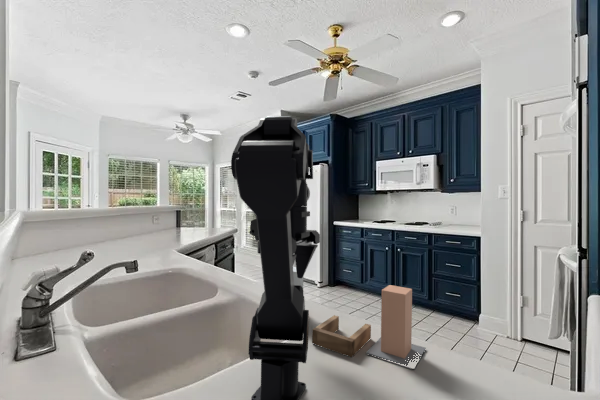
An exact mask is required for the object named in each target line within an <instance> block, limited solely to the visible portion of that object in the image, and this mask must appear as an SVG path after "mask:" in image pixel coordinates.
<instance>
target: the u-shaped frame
mask: <svg viewBox="0 0 600 400" xmlns="http://www.w3.org/2000/svg"><path fill="white" fill-rule="evenodd" d="M339 325H340V316H338V315H335V314H334V315H332V316H331V317H329V318H327V319H326V320H325V321H323V322H321V323H320V324H319V325H317V326H316V327H315V326H314V328H312V330H311V332H312V333H311V334H312V336H311V337H312V339H311V344H312V343H314V344H316V345H315V346H317V345H319V346H318V347H320V346H322V347H321V348H323V347H324V349H326V348H327V349H326V350H329V349H330V350H329V351H332V350H333V351H332V352H336V353H338V354H341V355H343V354H344V356H346V355H348V356H347V357H349V356H350V358H353V357H354V356H355V355H356V354H357V353H358V352H359V351H360V350H361V349H362V348H363V347H364V346H365V345H366V344H367V343H368V342H369V341H370V340H371V339H372V325H371V324H369V323H365V324H363V325H362V326H361V327H360V328H359V329H357V330H356V331H355V332H354V333H353V334H351V336H349V337H348V336H347V335H341V334H340V333H339V334H338V333H336V332H337V331H339V330H338V329H339V328H340V327H339ZM336 330H337V331H336ZM335 331H336V332H335ZM370 338H371V339H370ZM369 339H370V340H369ZM368 340H369V341H368ZM367 341H368V342H367ZM366 342H367V343H366ZM365 343H366V344H365ZM314 344H313V345H314ZM364 344H365V345H364ZM363 345H364V346H363ZM362 346H363V347H362ZM361 347H362V348H361ZM359 349H360V350H359ZM352 356H353V357H352Z"/></svg>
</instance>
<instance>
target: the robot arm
mask: <svg viewBox="0 0 600 400" xmlns="http://www.w3.org/2000/svg"><path fill="white" fill-rule="evenodd" d="M313 153H314V152H313V149H310V145H309V144H308V143H307V137H306V134H304V132H302V131H301V130H300V129H299V128H298V120H297V117H293V116H292V115H282V116H281V115H274V116H273V115H272V116H265V117H262V118H260V119H259V122H258V125H256V126H255V127H253V128H252V129H250V130H249V131H247V132H245V133H244V134H242V135H240V137H239V138H238V141H237V142H236V145H235V147H234V149H233V151H232V154H231V161H230V166H231V167H230V169H231V175H232V176H233V179H234V180H236V184H237V187H238V193H239V198H240V199H241V200H242V201H243V202H244V204H245V205H246V207H248V208H249V209H250V210H251V212H252V213H253V214H254V215H255V219H252V220H250V224H249V225H250V227H249V232H248V233H249V235H251V236H253V237H254V239H255V240H254V241H256V242H257V254H259V255H260V263H261V272H262V280H263V288H264V290H263V293H262V295H261V298H260V302H259V305H258V307H257V308H256V310H255V314H254V315H253V316H252V318H251V325H250V331H249V332H250V333H249V337H248V338H249V339H248V355H249V360H250V361H251V360H252V361H254V360H260V386H259V387H258V388H257V389H256V391H255V392H254V393H253V394H252V396H251V400H300V398H301V396H302V395H303V393H304V392H305V389H306V387H307V384H306V383H305V382H303V381H300V380H299V363H302V364H306V363H307V359H308V352H309V351H308V350H309V327H310V326H309V325H310V324H309V322H310V318H309V317H310V311H309V309H306V305H305V304H306V303H305V302H306V301H305V300H306V299H305V294H304V287H303V288H302V287H301V286H299V285H294V277H293V267H294V264H295V267H296V271H297V277H298V278H303V279H304V275H305V273H306V271H307V269H308V267H309V264H310V262H311V260H312V258H313V256H314V254H315V252H316V249H317V248H318V246H319V245H318V244H320V242H321V234H320V233H319V232H318V230H315V229H308V226H307V225H308V224H307V222H308V218H309V217H311V210H310V211H308V201H309V199H310V197H311V191H310V187H309V186H308V183H307V180H314V163H313V162H314V158H313V157H314V154H313ZM261 340H262V341H261ZM263 340H271V341H263ZM272 340H275V341H276V342H275V341H272ZM277 341H279V342H277ZM280 341H290V342H280ZM291 341H292V342H291ZM293 342H294V343H293ZM295 342H302V343H295Z"/></svg>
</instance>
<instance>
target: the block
mask: <svg viewBox="0 0 600 400" xmlns="http://www.w3.org/2000/svg"><path fill="white" fill-rule="evenodd" d="M380 305H381V307H380V308H381V309H380V311H381V313H380V314H381V316H380V321H381V323H380V337H381V351H382V352H385V353H388V354H392V355H395V356H398V357H401V358H404V359H405V357H406V356H407V354H408V353H409V352H410V350H411V344H412V337H413V335H412V330H413V329H412V328H413V327H412V325H413V323H412V321H413V319H412V318H413V288H409V287H403V286H399V285H398V286H397V285H394V284H393V285H391V284H389V285H386V286H385V287H384V288H382V289H381V304H380Z"/></svg>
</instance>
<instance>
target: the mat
mask: <svg viewBox="0 0 600 400" xmlns="http://www.w3.org/2000/svg"><path fill="white" fill-rule="evenodd" d="M425 349H426V350H427V347H424V346H421V345H418V344H414V343H411V350H410V352H409V353H408V354H407V356H406V357H405V359H404V358H401V357H398V356H395V355H392V354H388V353H385V352H382V351H381V336H380V338H378V339H377V341H376V342H374V343H373V345H372V346H370V348H369V349H368V350H367V351H366V352H365V353H366V354H369V355H373V356H376V357H379V358H383V359H386V360H390V361H393V362H396V363H400V364H404V365H405V364H406V366H407V365H408V363H409V361H410V360H411V359H412V360H413V359H415V358H416V357H418V356H419V355H418V353H419V354H420V355H422V354H423V352H424V351H425V352H426V350H425ZM417 352H418V353H417ZM425 352H424V353H425ZM415 353H416V354H417V355H418V356H416V354H415ZM369 355H368V356H369ZM413 355H415V356H416V357H415V356H413ZM423 355H424V354H423ZM408 357H409V358H408ZM413 357H414V358H413ZM420 357H421V356H419V359H420ZM379 358H378V359H379ZM421 358H422V357H421ZM408 359H409V360H408ZM416 359H418V358H416ZM405 360H406V361H405ZM412 360H411V362H412ZM420 360H421V359H420ZM407 361H408V362H407ZM414 361H415V360H414ZM414 361H413V362H414ZM416 362H417V361H416Z"/></svg>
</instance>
